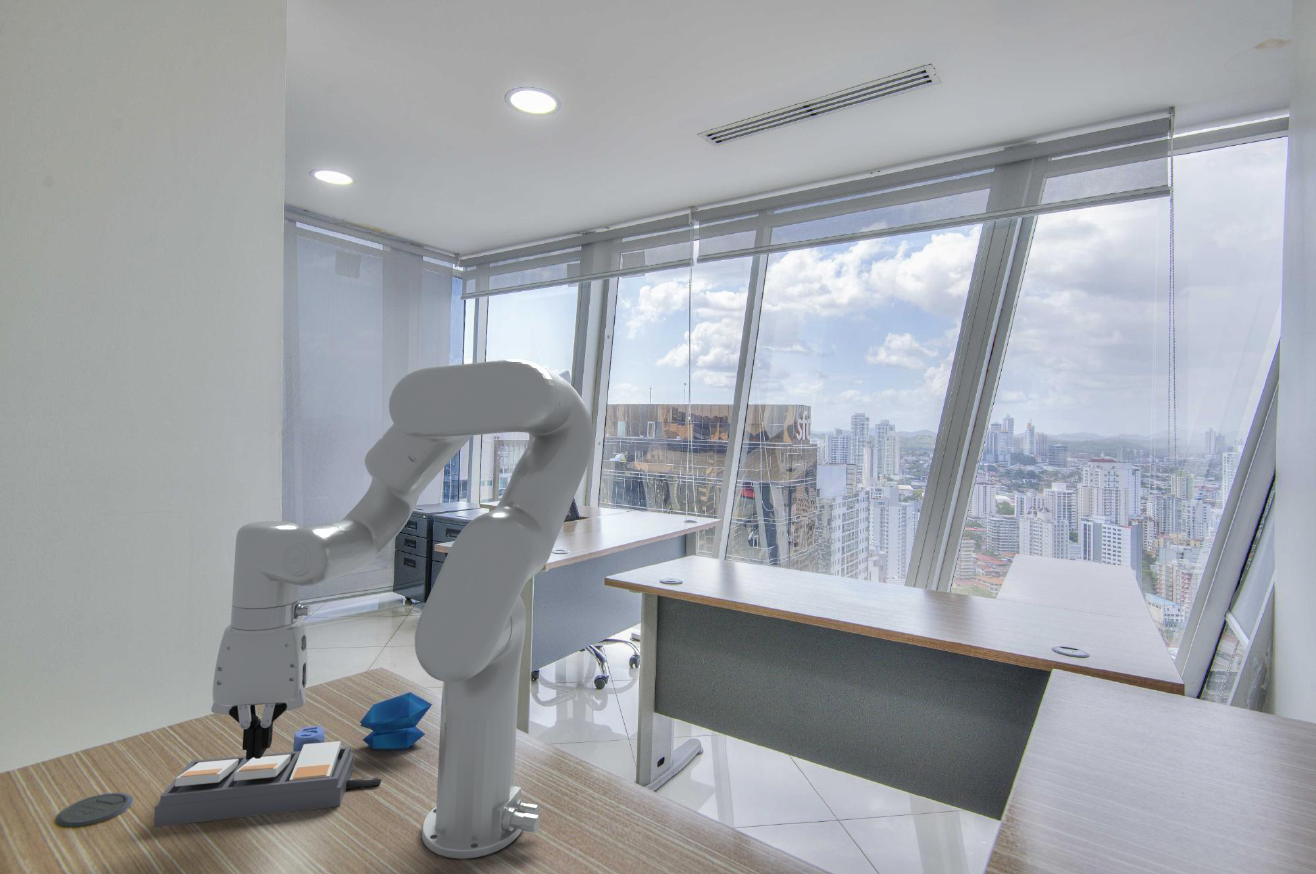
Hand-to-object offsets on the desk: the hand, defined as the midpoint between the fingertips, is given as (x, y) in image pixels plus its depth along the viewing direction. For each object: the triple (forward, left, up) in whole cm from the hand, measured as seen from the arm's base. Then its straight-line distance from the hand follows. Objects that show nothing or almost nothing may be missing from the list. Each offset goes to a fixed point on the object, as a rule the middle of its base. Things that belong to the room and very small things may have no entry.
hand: (256, 753), depth 81 cm
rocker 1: (+7, +1, -4) cm, 8 cm away
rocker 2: (-5, -6, -4) cm, 8 cm away
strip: (-1, -3, -7) cm, 8 cm away
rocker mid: (+1, -2, -4) cm, 4 cm away
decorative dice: (+3, -13, -7) cm, 15 cm away
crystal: (-7, -20, -7) cm, 22 cm away
